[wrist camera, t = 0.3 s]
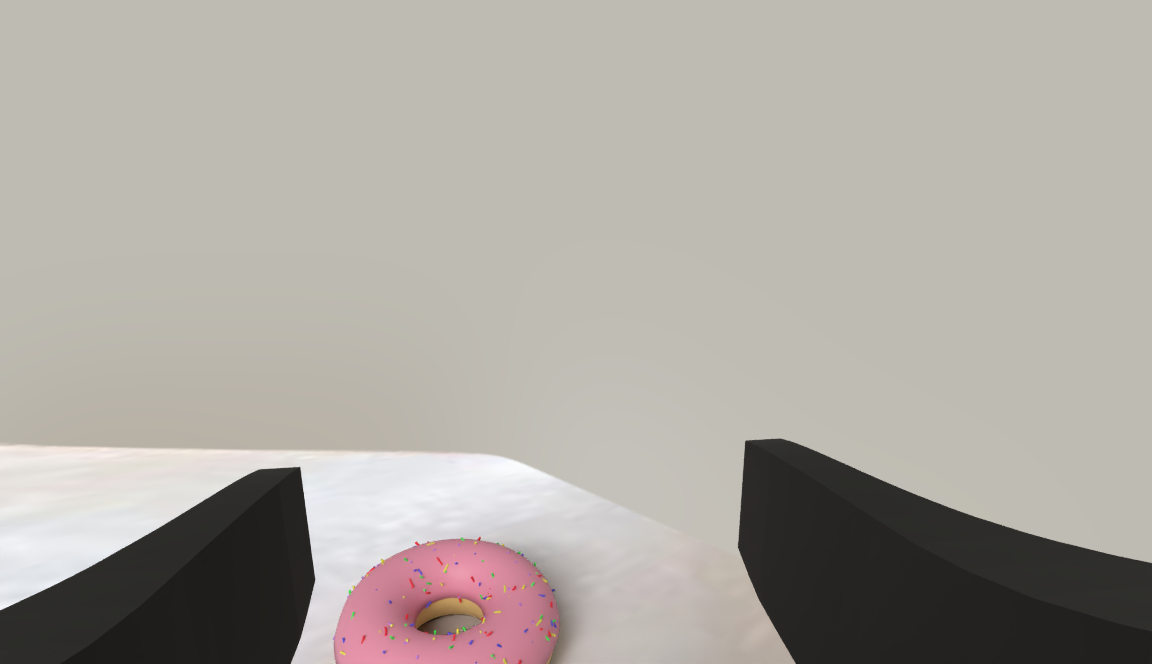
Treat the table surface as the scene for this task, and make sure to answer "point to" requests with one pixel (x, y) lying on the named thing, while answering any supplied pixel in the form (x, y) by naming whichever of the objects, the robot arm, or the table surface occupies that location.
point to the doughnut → (450, 608)
